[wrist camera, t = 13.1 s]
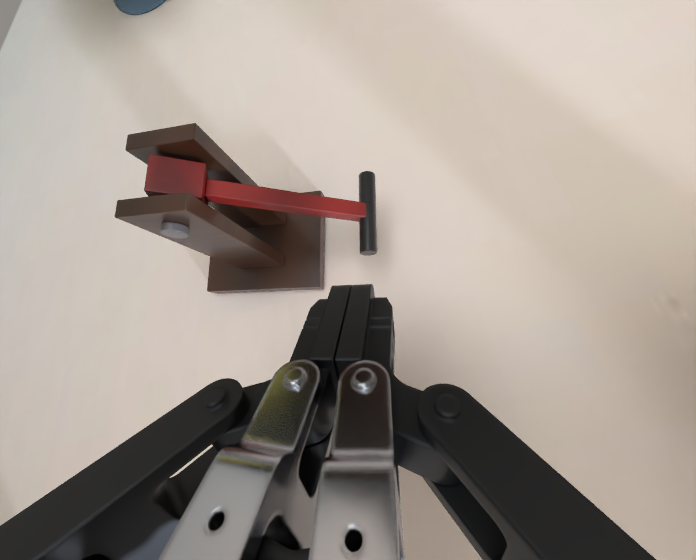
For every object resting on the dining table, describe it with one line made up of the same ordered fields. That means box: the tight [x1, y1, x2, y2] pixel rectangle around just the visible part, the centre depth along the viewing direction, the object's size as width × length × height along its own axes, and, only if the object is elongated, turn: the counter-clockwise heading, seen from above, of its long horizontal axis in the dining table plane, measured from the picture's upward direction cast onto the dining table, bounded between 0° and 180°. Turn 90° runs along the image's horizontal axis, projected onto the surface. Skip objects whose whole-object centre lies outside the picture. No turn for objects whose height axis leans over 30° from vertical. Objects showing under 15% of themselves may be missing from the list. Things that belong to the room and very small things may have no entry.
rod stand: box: [115, 123, 324, 293], centre depth 22 cm, size 11×9×13 cm
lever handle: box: [144, 154, 377, 255], centre depth 19 cm, size 14×6×2 cm, turn 91°
